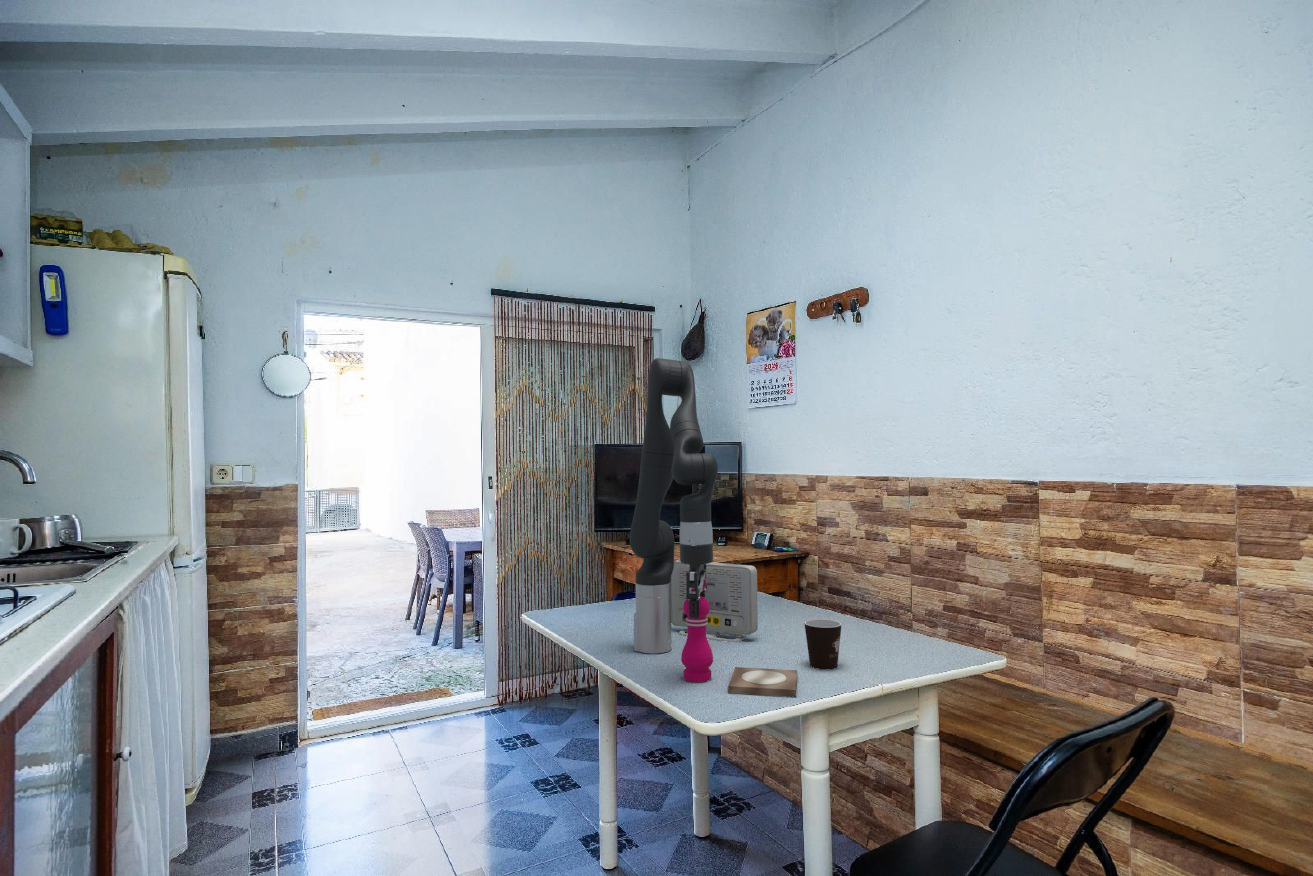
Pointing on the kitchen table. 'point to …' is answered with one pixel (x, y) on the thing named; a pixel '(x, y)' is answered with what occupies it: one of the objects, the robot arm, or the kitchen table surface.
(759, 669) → the walnut board
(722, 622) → the network device
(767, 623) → the kitchen table surface
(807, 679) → the kitchen table surface
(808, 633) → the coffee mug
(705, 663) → the pepper mill
